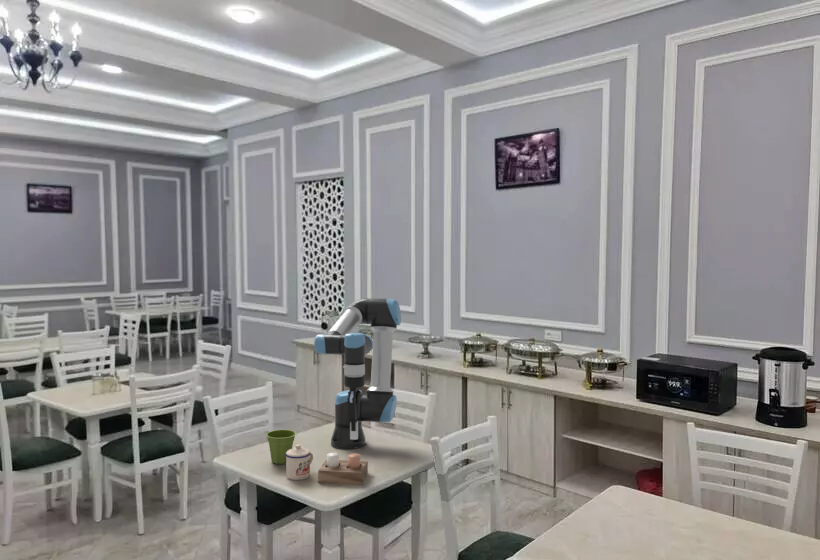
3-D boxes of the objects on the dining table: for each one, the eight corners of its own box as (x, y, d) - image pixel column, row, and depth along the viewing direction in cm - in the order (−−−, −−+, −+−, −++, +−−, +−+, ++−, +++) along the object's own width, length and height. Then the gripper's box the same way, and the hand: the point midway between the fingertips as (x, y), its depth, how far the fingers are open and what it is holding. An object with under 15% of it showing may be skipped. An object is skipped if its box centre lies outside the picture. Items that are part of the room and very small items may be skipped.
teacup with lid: (297, 482, 208) (297, 450, 208) (280, 476, 213) (280, 445, 213) (320, 472, 218) (321, 442, 218) (303, 467, 223) (303, 437, 223)
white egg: (328, 468, 216) (328, 452, 216) (340, 468, 215) (340, 452, 215) (325, 472, 211) (325, 456, 211) (337, 473, 211) (337, 456, 211)
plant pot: (285, 468, 222) (285, 439, 222) (259, 464, 227) (259, 435, 226) (302, 458, 233) (302, 431, 233) (277, 454, 238) (277, 427, 237)
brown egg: (349, 469, 215) (349, 453, 215) (361, 469, 215) (361, 453, 214) (347, 473, 211) (347, 457, 210) (358, 474, 210) (358, 457, 210)
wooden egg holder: (326, 470, 220) (326, 459, 220) (367, 472, 218) (367, 461, 218) (318, 482, 208) (318, 470, 208) (361, 484, 206) (361, 472, 206)
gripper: (348, 371, 218) (347, 433, 219) (340, 378, 205) (340, 443, 206) (367, 372, 217) (367, 434, 218) (361, 379, 204) (360, 444, 205)
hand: (354, 438), depth 212 cm, fingers closed
